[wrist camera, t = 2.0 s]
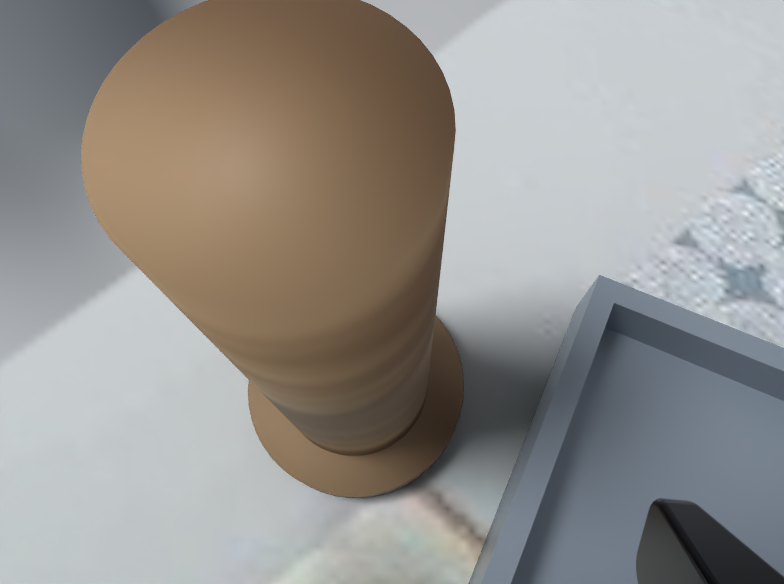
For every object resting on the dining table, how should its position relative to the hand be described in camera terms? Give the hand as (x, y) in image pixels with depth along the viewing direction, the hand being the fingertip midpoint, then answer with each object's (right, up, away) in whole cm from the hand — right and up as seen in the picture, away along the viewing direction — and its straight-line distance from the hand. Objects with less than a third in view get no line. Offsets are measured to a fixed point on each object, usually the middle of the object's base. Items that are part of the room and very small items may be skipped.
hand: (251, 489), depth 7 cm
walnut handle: (+1, -1, +11) cm, 11 cm away
